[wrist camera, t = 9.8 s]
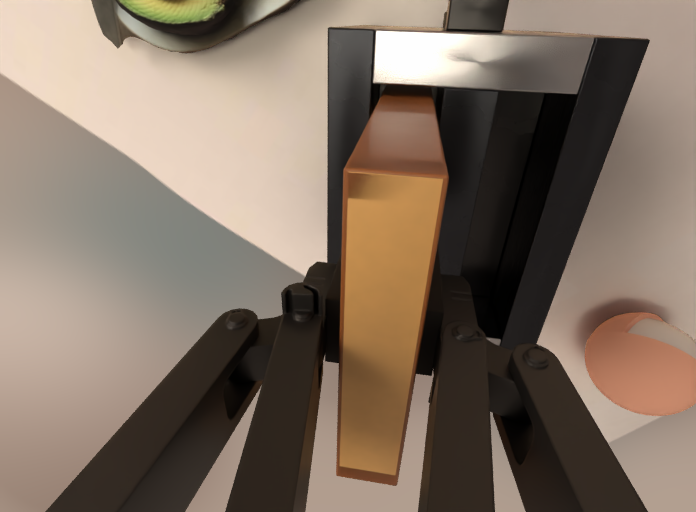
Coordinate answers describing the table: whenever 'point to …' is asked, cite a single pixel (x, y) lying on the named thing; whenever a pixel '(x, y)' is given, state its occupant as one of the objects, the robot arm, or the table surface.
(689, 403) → the toy ball
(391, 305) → the toast
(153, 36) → the salad plate
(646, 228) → the table surface
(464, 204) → the toaster
